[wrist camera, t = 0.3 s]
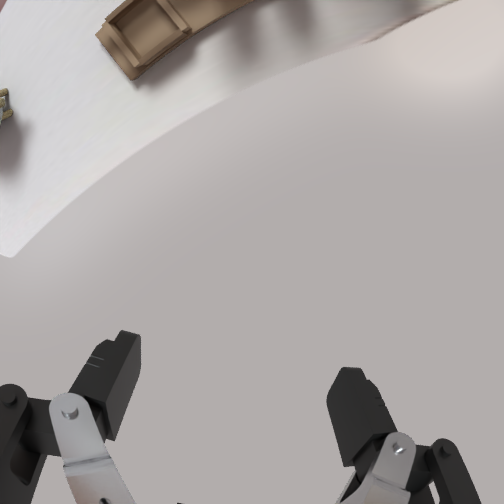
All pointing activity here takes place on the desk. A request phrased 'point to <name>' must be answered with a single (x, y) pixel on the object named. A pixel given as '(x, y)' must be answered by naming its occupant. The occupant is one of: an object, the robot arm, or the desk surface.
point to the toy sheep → (3, 115)
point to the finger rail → (157, 28)
